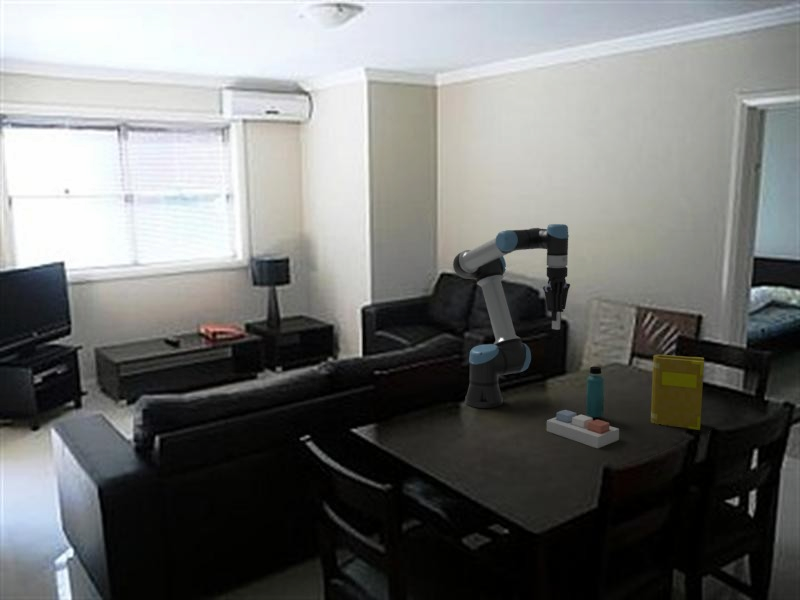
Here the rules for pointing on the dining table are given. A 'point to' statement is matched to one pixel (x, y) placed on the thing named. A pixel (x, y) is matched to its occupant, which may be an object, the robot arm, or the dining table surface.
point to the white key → (581, 421)
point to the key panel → (582, 433)
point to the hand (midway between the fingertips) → (555, 328)
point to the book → (677, 391)
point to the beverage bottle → (595, 393)
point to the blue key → (565, 416)
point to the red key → (598, 426)
